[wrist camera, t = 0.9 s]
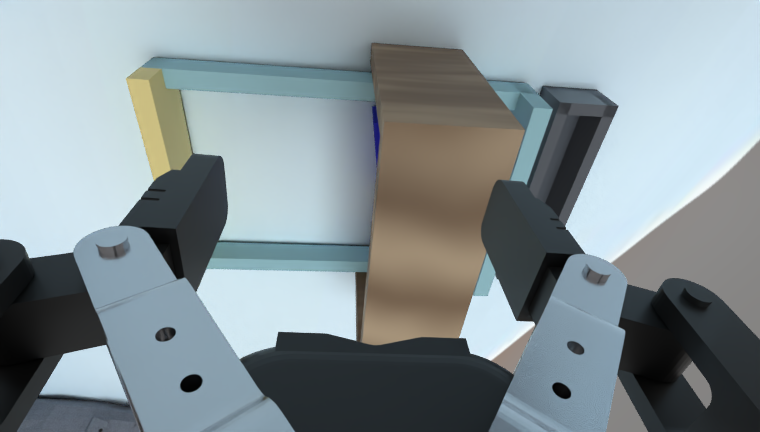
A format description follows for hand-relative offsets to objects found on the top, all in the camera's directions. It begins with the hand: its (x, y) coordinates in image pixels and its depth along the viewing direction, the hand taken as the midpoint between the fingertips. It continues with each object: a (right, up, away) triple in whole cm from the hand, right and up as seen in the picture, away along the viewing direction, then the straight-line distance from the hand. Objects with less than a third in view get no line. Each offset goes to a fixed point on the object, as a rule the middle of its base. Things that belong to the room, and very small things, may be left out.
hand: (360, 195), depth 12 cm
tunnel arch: (+2, +2, +21) cm, 21 cm away
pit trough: (+13, +2, +22) cm, 25 cm away
